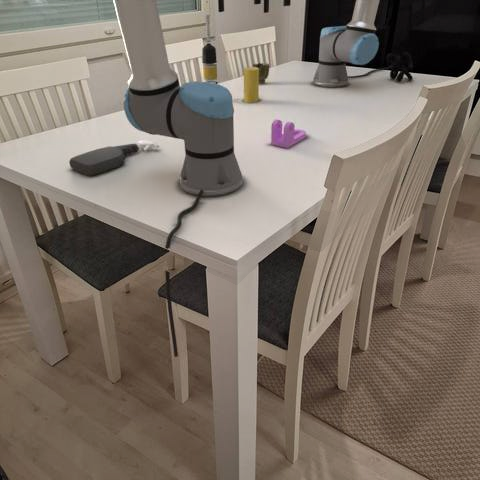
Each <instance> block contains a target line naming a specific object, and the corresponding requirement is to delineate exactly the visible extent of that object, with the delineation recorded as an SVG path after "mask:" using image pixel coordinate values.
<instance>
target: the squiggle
mask: <svg viewBox="0 0 480 480" xmlns="http://www.w3.org/2000/svg"><path fill="white" fill-rule="evenodd" d="M401 57H402V59H401ZM391 59H392V60H391ZM393 60H394V61H393ZM385 61H386V64H387V67H390V66H391V68H390V69H391V70H390V72H389V78H390V79H391V80H395V79H396V81H397V82H399V83H400V82H402V81H403V79H404V76H406V78H407V80H408V81H412V80H413V79H414V77H413V75H412V74H411V73H410V72H409V71H410V70H412V69H413V68H414V64H413V61H412V57H411V54H410V53H409V52H408V51H403V53H402V54H401V55H396V54H394V53H392V52H390V53H387V55H386V57H385ZM406 62H407V65H408V66H407V67H405V66H404V65H405V64H406ZM400 70H401V71H400Z"/></svg>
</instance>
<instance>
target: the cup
mask: <svg viewBox="0 0 480 480" xmlns="http://www.w3.org/2000/svg"><path fill="white" fill-rule="evenodd" d="M270 66H271V65H270V63H265V64H264V63H263V62H262V63H260V62H258V63H253V64H252V67H256V68H259V85H260V84H261V85H262V84H265V83H266V80H267V79H268V77H269V74H270Z"/></svg>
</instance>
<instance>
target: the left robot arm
mask: <svg viewBox="0 0 480 480" xmlns="http://www.w3.org/2000/svg"><path fill="white" fill-rule="evenodd" d="M112 1H113V4H114V8H115V12H116V17H117V20H118V24H119V28H120V31H121V35H122V39H123V43H124V47H125V51H126V56H127V59H128V63H129V66H130V71H131V77H130V79H129V80H128V81H127V86H128V87H127V89H126V90H125V93H124V100H123V111H124V114H125V117H126V119H127V120H128V122H129V124H130V125H131V126H132V127H133V128H134V129H136V130H138V131H140V132H143V133H146V134H148V135H153V136H156V135H157V136H163V137H168V138H173V139H178V140H183V143H184V154H185V155H184V158H183V164H182V168H181V171H180V177H179V183H180V184H179V185H180V188H181V189H182V191H184V192H186V193H187V194H190V195H194V196H196V198H195V199H194V203H193V204H192V205H191V206H189V207H188V208H186V209H183V210H182V211H181V212H179V214H178V215H177V223H176V225H175V226H174V228H172V230H171V231H170V232H169V233H168V236H167V239H166V242H165V246H164V248H165V249H166V250H168V249H170V247H171V242H172V239H173V236H174V235H175V234H176V232H177V231H178V230H179V229H180V228H181V226H182V218H183V216H184V215H186V214H188V213H190V212H192V211H193V210H195V208H196V207H197V206H198V204H199V201H200V199H201V197H221V196H224V195H229V194H232V193H234V192H235V191H237V190H239V189H240V188H241V187H242V185H243V174H242V171H241V168H240V165H239V163H238V160H237V157H236V154H235V132H234V131H235V130H234V127H235V126H234V122H235V121H234V114H235V108H234V102H233V96H232V93H231V91H230V90H229V88H227V87H225V86H224V85H221V84H219V83H217V84H215V82H207V81H199V80H198V81H197V80H196V81H188V82H185V83H183V84H182V85H180V79H179V74H178V73H177V72H176V71H175V70H173V69H172V68H170V63H169V58H168V52H167V48H166V43H165V38H164V37H165V36H164V33H163V28H162V23H161V18H160V13H159V7H158V4H157V0H112ZM217 4H218V5H217V8H218V13H223V12H225V0H217ZM263 13H264V14H267V13H270V0H263ZM164 272H165V273H164V274H165V291H166V302H167V310H168V318H169V326H170V332H171V339H172V348H173V356H174V358H178V356H179V354H178V344H177V336H176V329H175V320H174V314H173V305H172V296H171V275H170V271H168V270H165V271H164Z"/></svg>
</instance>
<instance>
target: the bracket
mask: <svg viewBox="0 0 480 480" xmlns="http://www.w3.org/2000/svg"><path fill="white" fill-rule="evenodd" d="M270 129H271V130H270V131H271V132H270V133H271V134H270V145H272V146H277V147H281V148H285V149H288V148H290V147H292V146H294V145H295V144H297V143H299V142H302V140H304V139H306V138H307V131H306V130H304V129H299V128H297V129H296V128H295V123H294V122H292V121H291V122H290V121H286V122H285V124H284V127H283V121H282V119H281V120H280V119H274V120H272V123H271V127H270Z"/></svg>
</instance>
